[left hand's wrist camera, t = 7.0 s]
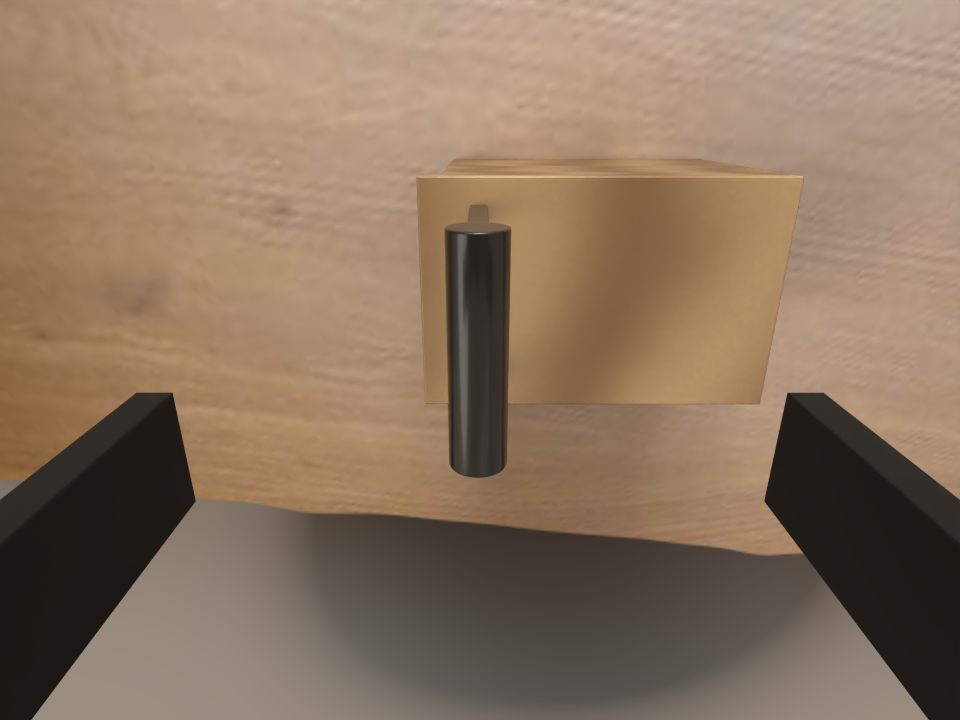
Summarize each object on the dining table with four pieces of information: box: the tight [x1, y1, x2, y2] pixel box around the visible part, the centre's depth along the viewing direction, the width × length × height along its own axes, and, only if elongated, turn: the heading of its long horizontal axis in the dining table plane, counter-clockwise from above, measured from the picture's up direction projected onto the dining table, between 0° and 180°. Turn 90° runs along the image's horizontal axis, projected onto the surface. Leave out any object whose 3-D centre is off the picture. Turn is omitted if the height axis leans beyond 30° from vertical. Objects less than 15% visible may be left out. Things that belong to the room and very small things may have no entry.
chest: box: [442, 159, 791, 175], centre depth 30 cm, size 14×10×10 cm
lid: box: [417, 175, 804, 478], centre depth 21 cm, size 15×10×8 cm, turn 90°
